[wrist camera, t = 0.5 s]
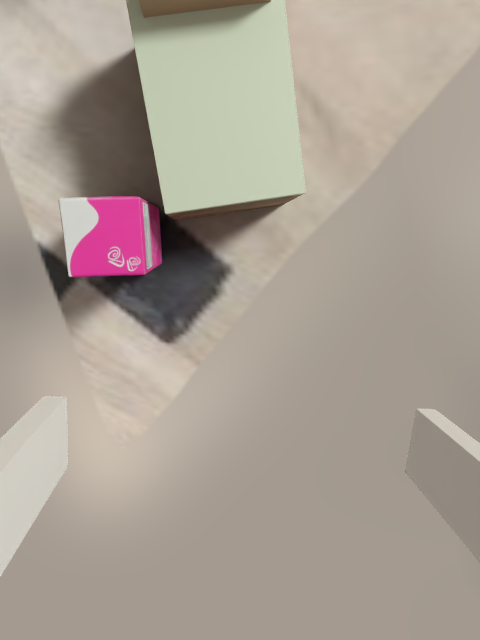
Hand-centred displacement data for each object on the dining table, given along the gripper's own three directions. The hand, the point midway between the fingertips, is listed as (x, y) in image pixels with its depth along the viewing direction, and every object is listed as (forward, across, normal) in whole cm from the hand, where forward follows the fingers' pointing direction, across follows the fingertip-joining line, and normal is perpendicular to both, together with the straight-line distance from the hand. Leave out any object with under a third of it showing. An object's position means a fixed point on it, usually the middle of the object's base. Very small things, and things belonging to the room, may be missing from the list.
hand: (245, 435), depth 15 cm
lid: (+19, -2, +18) cm, 26 cm away
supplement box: (+28, -9, +6) cm, 30 cm away
